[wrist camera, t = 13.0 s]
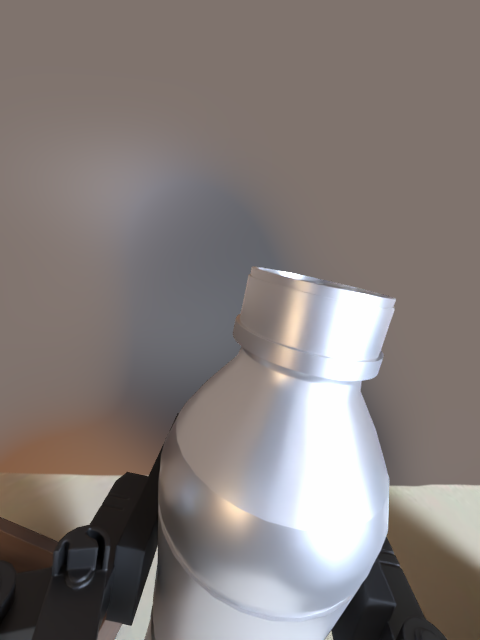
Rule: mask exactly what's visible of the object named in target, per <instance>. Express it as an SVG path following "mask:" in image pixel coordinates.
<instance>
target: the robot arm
mask: <svg viewBox="0 0 480 640" xmlns="http://www.w3.org/2000/svg"><path fill="white" fill-rule="evenodd" d="M178 414H179V413H178ZM178 414H177V416H178ZM177 416H176V418H177ZM176 418H175V420H176ZM174 422H175V421H174ZM173 424H174V423H173ZM172 426H173V425H172ZM171 428H172V427H171ZM170 430H171V429H170ZM164 443H165V442H164ZM163 446H164V444H163ZM163 446H162V449H161V451H160V453H159V455H158V457H157V459H156V462H155V464H154V466H153V468H152V470H151V472H150V474H149V476H144V475H139V474H135V473H130V472H127V473H126V474H124V475H123V476H122V477H120V478H119V479H118V480H117V481H116V482H115V483H114V485H113V487H112V488H111V490H110V492H109V494H108V496H107V497H106V498H105V500H104V502H103V503H102V506H101V507H100V508H99V510H98V512H97V513H96V515H95V517H94V518H93V520H92V522H91V523H90V525H86V526H82V527H78V528H76V529H74V530H72V531H70V532H69V533H67V534H66V535H65V536H64V537H63V538H62V539H61V540H60V541H59V542H58V544H57V546H56V548H55V550H54V551H53V563H52V566H51V567H49V568H45V569H41V570H35V571H28V572H21V573H16V570H15V568H14V567H13V565H12V564H11V563H9V562H6V561H4V560H0V640H97V639H98V632H99V628H100V626H101V623H102V621H103V618H104V616H105V614H106V620H107V621H112V622H117V623H121V624H126V625H131V626H132V623H133V620H134V617H135V614H136V610H137V607H138V604H139V601H140V598H141V595H142V592H143V589H144V586H145V583H146V580H147V577H148V573H149V570H150V567H151V564H152V561H153V558H154V555H155V552H156V549H157V546H158V481H159V472H160V463H161V453H162V450H163ZM106 611H107V613H106ZM331 631H332V635H333V640H447V639H446V637H445V636H444V635H443V634H442V633H441V632H440V631H439V630H438V629H437V628H436V627H435V626H434V625H433V624H431V623H430V622H428V621H427V620H426V619H425V617H424V615H423V613H422V611H421V608H420V606H419V604H418V602H417V600H416V598H415V596H414V594H413V592H412V590H411V587H410V585H409V583H408V581H407V579H406V577H405V575H404V573H403V571H402V569H401V568H400V564H399V562H398V560H397V558H396V556H395V555H394V552H393V550H392V547H391V545H390V543H389V541H388V539H387V537H386V538H385V540H384V543H383V546H382V548H381V551H380V552H379V554H378V556H377V558H376V560H375V562H374V564H373V566H372V568H371V570H370V572H369V574H368V576H367V578H366V579H365V580H364V581H363V583H362V584H361V586H360V588H359V589H358V591H357V592H356V594H355V595H354V597H353V598H352V600H351V601H350V603H349V604H348V606H347V607H346V609H345V610H344V612H343V613H342V615H341V616H340V618H339V619H338V621H337V622H336V624H335V625H334V627H333V628H332V630H331Z"/></svg>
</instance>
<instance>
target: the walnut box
mask: <svg viewBox="0 0 480 640" xmlns="http://www.w3.org/2000/svg"><path fill="white" fill-rule="evenodd" d="M57 544H58V542H57V541H55V540H53V539H50V538H48V537H46V536H43V535H41V534H39V533H36V532H34V531H32V530H29V529H27V528H25V527H22V526H20V525H18V524H15V523H13V522H11V521H8V520H6V519H4V518H1V517H0V560H4V561H6V562H9V563H11V564H12V565H13V567H14V568H15V570H16V573H21V572H28V571H35V570H41V569H45V568H49V567H51V566H52V563H53V551H54V550H55V548H56V546H57ZM106 613H107V611H106ZM121 625H122V624H121V623H117V622H112V621H107V620H106V614H105V616H104V618H103V621H102V623H101V626H100V628H99V632H98V639H97V640H114V639H115V637H116V635H117V633H118V631H119V629H120V627H121Z"/></svg>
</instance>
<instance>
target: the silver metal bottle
mask: <svg viewBox="0 0 480 640" xmlns="http://www.w3.org/2000/svg"><path fill="white" fill-rule="evenodd" d="M395 300H396V299H395V298H393V297H390V296H387V295H383V294H380V293H376V292H372V291H368V290H364V289H360V288H356V287H352V286H348V285H343V284H339V283H335V282H330V281H326V280H321V279H317V278H312V277H308V276H303V275H298V274H293V273H288V272H283V271H278V270H273V269H267V268H261V267H252V269H251V274H249V276H248V281H247V286H246V291H245V296H244V300H243V305H242V310H241V314H239V315H238V316H237V317H236V321H235V325H234V330H233V337H234V338H235V340H236V341H237V343H239V344H240V345H241V349H240V351H239V354H238V355H237V356H236V357H235V358H234V359H232V360H231V361H230V362H229V363H228V364H226V365H225V366H224V367H223V368H222V369H220V370H219V371H218V372H217V373H216V374H215V375H213V376H212V377H211V378H210V379H209V380H207V381H206V382H205V383H204V385H203V386H202V387H201V388H200V389H199V390H198V391H197V392H196V393H195V394H194V395H193V396H192V397H191V398H190V399H189V400H188V401H187V402H186V403H185V405H184V407H183V408H182V410H181V411H180V413H179V414H178V416H177V418H176V420H175V422H174V424H173V426H172V428H171V430H170V432H169V434H168V435H167V437H166V440H165V443H164V446H163V450H162V453H161V463H160V472H159V481H158V564H157V572H156V580H155V588H154V595H153V606H152V611H151V619H150V623H149V626H148V629H147V632H146V636H145V639H144V640H325V639H326V637H327V636H328V634H329V633H330V631H331V630H332V628H333V627H334V625H335V624H336V622H337V621H338V619H339V618H340V616H341V615H342V613H343V612H344V610H345V609H346V607H347V606H348V604H349V603H350V601H351V600H352V598H353V597H354V595H355V594H356V592H357V591H358V589H359V588H360V586H361V584H362V583H363V581H364V580H365V579H366V578H367V576H368V574H369V572H370V570H371V568H372V566H373V564H374V562H375V560H376V558H377V556H378V554H379V552H380V551H381V548H382V546H383V543H384V540H385V538H386V535H387V532H388V515H389V476H388V473H387V469H386V465H385V462H384V458H383V454H382V451H381V447H380V443H379V440H378V436H377V433H376V429H375V427H374V424H373V422H372V419H371V417H370V414H369V412H368V409H367V406H366V404H365V401H364V399H363V396H362V394H361V391H360V389H361V381H362V380H367V379H371V378H374V377H375V376H376V375H377V374H378V371H379V369H380V366H381V363H382V360H383V353H382V351H381V348H382V345H383V342H384V339H385V336H386V333H387V330H388V327H389V324H390V321H391V318H392V315H393V312H394V309H395V307H393V305H394V303H395Z"/></svg>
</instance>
